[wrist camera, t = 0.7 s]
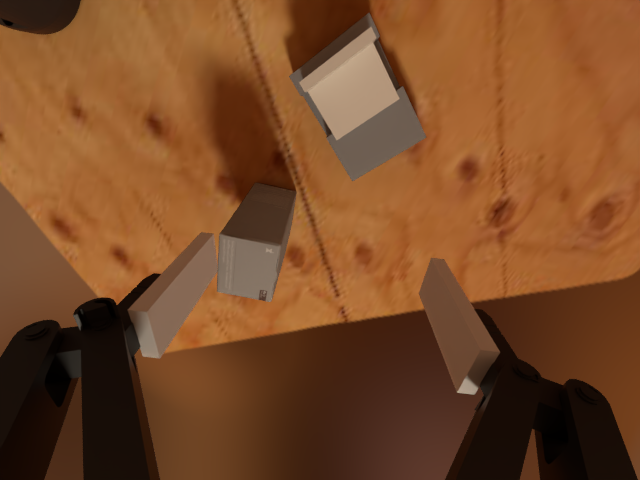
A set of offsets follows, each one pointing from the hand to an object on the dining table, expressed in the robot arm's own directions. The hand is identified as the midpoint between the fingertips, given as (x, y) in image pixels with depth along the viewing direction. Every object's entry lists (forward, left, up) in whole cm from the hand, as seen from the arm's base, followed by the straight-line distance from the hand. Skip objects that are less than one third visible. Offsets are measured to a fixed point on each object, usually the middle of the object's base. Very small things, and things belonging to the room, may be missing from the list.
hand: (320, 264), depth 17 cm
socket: (-5, +7, -25) cm, 26 cm away
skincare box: (+1, -11, -25) cm, 28 cm away
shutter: (-7, +7, -21) cm, 23 cm away
